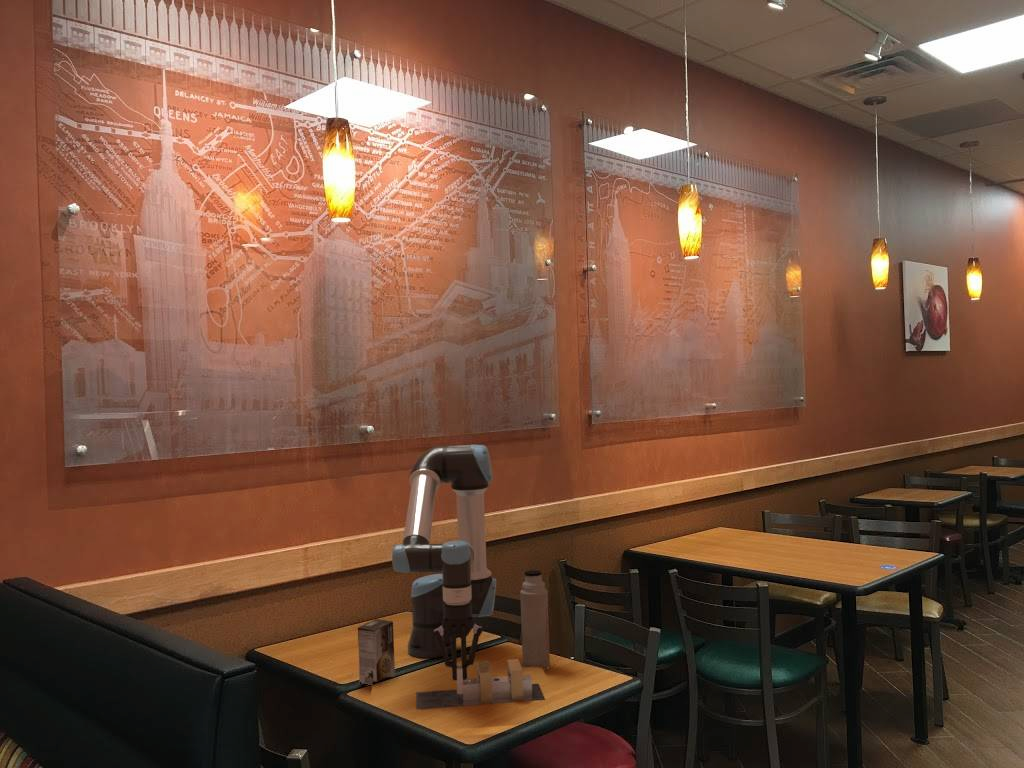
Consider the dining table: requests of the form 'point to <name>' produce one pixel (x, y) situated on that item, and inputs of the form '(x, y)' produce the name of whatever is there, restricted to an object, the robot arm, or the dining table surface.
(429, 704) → the collar stand
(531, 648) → the thermos bottle
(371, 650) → the coffee box
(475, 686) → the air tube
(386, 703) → the dining table surface
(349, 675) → the dining table surface
